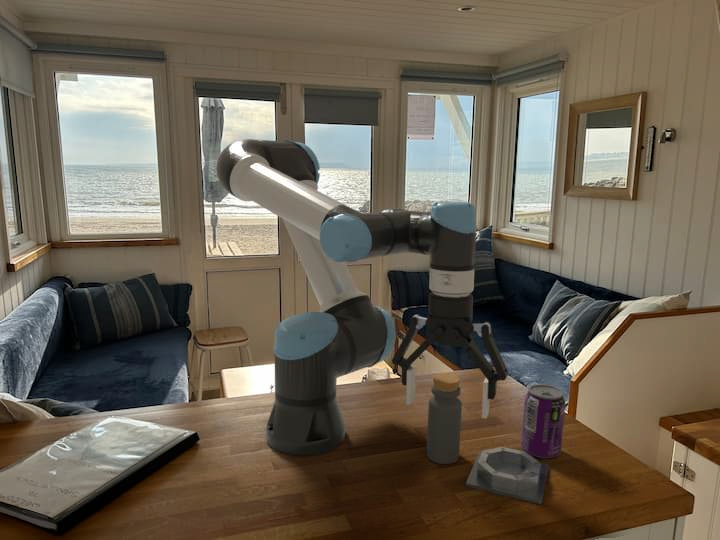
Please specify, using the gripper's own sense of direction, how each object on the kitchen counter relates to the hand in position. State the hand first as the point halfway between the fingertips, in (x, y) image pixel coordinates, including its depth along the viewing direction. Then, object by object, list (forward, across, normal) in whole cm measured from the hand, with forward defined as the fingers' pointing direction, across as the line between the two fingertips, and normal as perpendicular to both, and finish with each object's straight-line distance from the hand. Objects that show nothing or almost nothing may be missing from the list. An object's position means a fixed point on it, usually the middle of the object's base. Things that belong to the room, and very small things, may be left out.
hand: (446, 408), depth 100 cm
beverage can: (+10, +16, +10) cm, 21 cm away
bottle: (+10, 0, 0) cm, 10 cm away
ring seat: (+10, +12, -2) cm, 15 cm away
